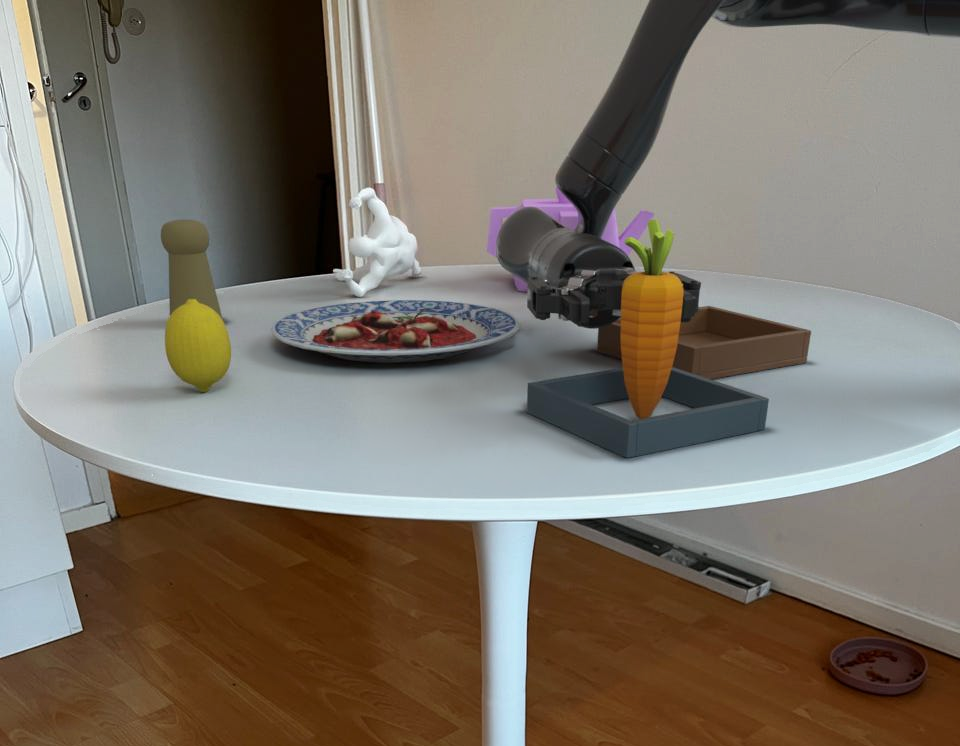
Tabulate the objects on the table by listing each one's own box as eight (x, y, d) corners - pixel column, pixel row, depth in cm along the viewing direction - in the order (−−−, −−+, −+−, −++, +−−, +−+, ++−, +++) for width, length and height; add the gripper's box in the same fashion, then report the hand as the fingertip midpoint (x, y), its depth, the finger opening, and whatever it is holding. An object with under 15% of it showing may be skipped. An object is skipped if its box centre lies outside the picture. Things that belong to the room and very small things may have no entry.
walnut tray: (706, 335, 109) (709, 305, 108) (806, 362, 98) (811, 330, 96) (596, 351, 103) (598, 319, 101) (691, 382, 92) (694, 348, 90)
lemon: (220, 380, 93) (209, 290, 89) (246, 393, 89) (235, 300, 85) (162, 390, 90) (148, 297, 86) (186, 404, 86) (172, 307, 82)
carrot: (661, 433, 78) (678, 226, 71) (602, 424, 80) (613, 223, 73) (682, 417, 82) (700, 219, 75) (625, 409, 84) (638, 216, 77)
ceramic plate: (453, 387, 91) (452, 353, 89) (221, 359, 100) (217, 329, 99) (556, 330, 111) (556, 302, 110) (355, 312, 121) (353, 286, 119)
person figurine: (338, 194, 138) (352, 179, 121) (429, 214, 141) (454, 201, 124) (326, 293, 141) (338, 291, 125) (414, 310, 145) (437, 310, 128)
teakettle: (476, 285, 137) (476, 186, 131) (560, 270, 147) (563, 178, 141) (570, 301, 126) (574, 194, 120) (653, 285, 137) (661, 185, 131)
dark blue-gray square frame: (655, 390, 89) (658, 362, 88) (765, 429, 79) (769, 398, 78) (526, 412, 83) (527, 382, 82) (626, 458, 73) (629, 424, 72)
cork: (185, 330, 112) (170, 225, 107) (160, 322, 116) (144, 220, 111) (233, 323, 116) (221, 220, 110) (207, 315, 120) (194, 215, 114)
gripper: (510, 238, 91) (551, 264, 77) (659, 233, 94) (726, 258, 80) (509, 322, 95) (549, 362, 81) (653, 316, 97) (716, 354, 83)
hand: (637, 311), depth 80 cm, fingers open, 8 cm apart
